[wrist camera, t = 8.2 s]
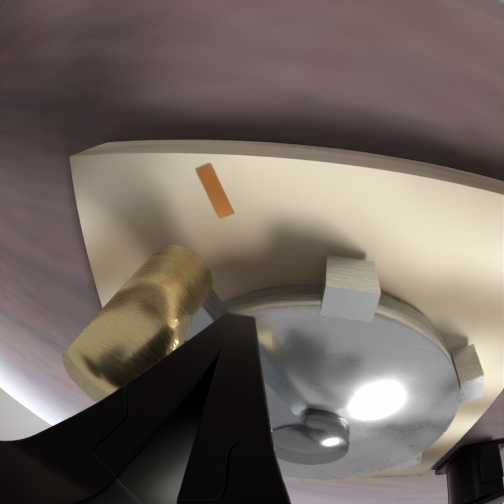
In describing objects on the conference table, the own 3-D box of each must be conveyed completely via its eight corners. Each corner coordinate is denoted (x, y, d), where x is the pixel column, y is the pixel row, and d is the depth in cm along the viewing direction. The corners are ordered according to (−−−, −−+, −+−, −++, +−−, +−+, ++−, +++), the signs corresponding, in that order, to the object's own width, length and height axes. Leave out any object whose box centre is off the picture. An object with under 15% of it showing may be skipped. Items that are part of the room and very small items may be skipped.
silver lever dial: (510, 378, 12) (538, 481, 6) (330, 475, 20) (318, 550, 14) (220, 152, 10) (83, 248, 4) (110, 366, 19) (57, 446, 13)
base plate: (419, 448, 22) (421, 476, 19) (167, 414, 26) (155, 440, 24) (557, 198, 10) (589, 222, 8) (107, 142, 15) (67, 156, 12)
